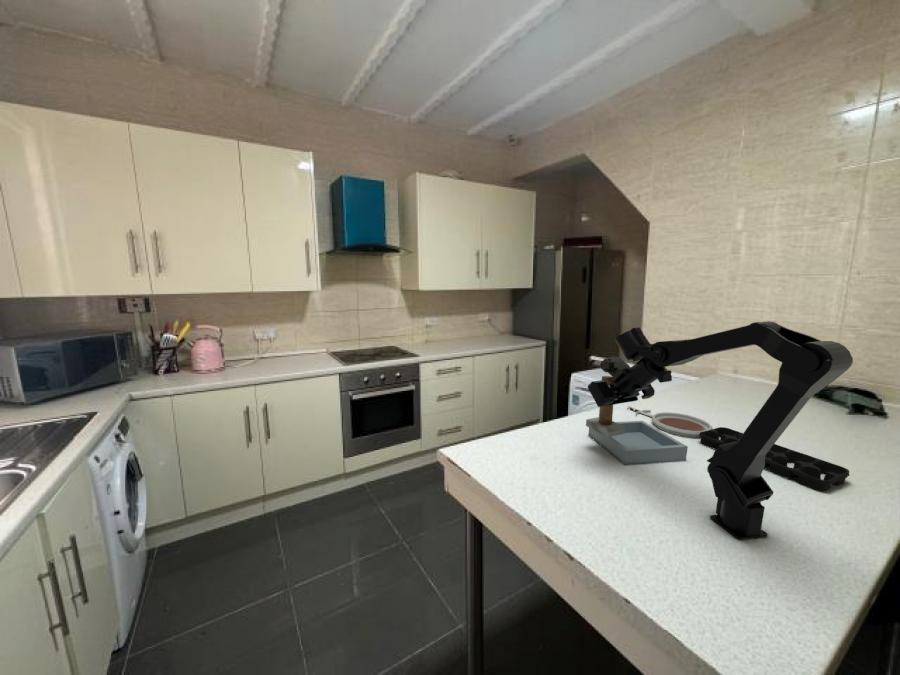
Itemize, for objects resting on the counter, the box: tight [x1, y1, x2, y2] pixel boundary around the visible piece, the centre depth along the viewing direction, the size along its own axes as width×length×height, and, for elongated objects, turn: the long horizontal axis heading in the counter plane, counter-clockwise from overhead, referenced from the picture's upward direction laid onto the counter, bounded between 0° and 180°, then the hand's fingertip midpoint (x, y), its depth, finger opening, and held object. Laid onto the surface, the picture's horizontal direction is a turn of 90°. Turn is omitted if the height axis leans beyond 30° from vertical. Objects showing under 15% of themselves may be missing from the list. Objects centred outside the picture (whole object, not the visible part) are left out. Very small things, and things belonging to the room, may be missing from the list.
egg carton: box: [699, 426, 850, 493], centre depth 96 cm, size 18×30×4 cm, turn 35°
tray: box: [588, 420, 688, 466], centre depth 103 cm, size 18×18×4 cm
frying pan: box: [627, 405, 714, 439], centre depth 122 cm, size 17×3×28 cm
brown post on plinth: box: [585, 375, 625, 437], centre depth 98 cm, size 8×6×15 cm
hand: (602, 404), depth 100 cm, fingers closed on brown post on plinth, 3 cm apart
